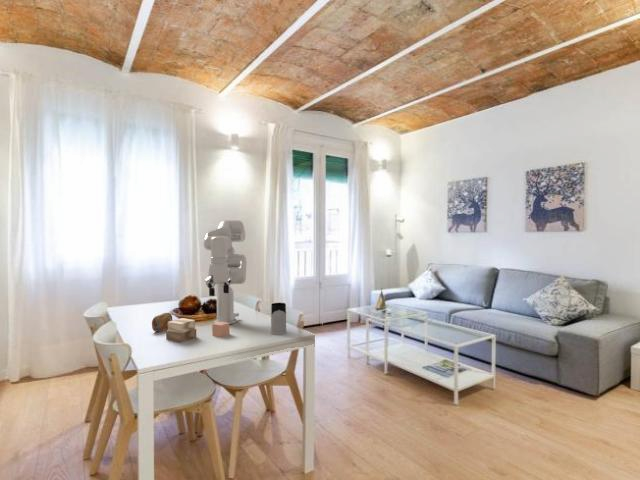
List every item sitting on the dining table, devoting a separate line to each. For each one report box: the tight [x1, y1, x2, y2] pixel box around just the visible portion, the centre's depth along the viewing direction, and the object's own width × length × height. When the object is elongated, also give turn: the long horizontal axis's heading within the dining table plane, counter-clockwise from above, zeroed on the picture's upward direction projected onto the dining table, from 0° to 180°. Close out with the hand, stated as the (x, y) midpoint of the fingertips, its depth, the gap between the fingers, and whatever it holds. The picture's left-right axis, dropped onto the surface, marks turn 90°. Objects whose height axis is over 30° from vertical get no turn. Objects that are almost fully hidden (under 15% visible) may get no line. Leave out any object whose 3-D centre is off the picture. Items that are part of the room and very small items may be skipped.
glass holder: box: [269, 302, 288, 336], centre depth 200 cm, size 9×14×15 cm, turn 9°
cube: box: [211, 322, 230, 338], centre depth 193 cm, size 6×6×6 cm
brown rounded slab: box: [151, 312, 173, 333], centre depth 204 cm, size 15×3×8 cm, turn 168°
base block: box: [165, 328, 197, 343], centre depth 188 cm, size 10×10×4 cm
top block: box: [167, 317, 196, 333], centre depth 187 cm, size 9×9×4 cm
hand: (219, 294), depth 193 cm, fingers open, 9 cm apart
